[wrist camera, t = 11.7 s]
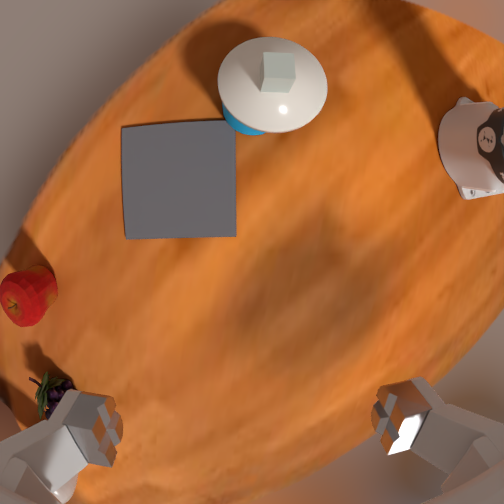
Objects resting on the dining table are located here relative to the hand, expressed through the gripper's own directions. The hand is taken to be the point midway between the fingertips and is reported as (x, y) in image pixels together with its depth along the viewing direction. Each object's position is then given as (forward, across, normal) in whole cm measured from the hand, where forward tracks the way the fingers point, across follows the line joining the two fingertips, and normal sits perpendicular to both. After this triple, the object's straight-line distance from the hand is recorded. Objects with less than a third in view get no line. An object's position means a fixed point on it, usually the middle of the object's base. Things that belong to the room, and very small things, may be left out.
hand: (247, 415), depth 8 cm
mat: (+35, +8, -6) cm, 36 cm away
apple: (+35, +33, +9) cm, 49 cm away
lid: (+27, -4, -17) cm, 32 cm away
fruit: (+36, +36, +33) cm, 60 cm away
